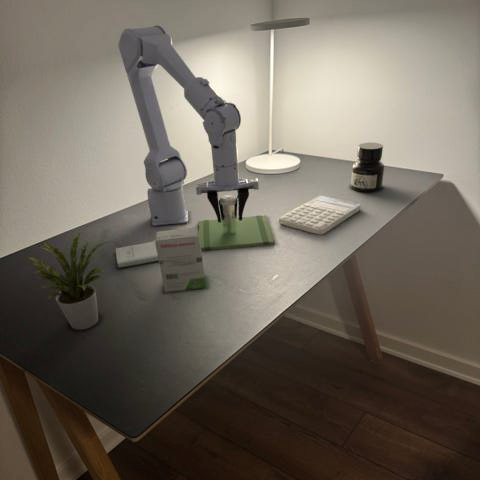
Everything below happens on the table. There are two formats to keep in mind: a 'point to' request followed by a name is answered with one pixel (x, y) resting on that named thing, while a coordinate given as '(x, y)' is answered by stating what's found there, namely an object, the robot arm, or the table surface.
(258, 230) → the towel
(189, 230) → the ink box
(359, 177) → the ink bottle
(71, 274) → the house plant
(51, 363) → the table surface
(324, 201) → the calculator
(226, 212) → the milkshake
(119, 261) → the hard drive
